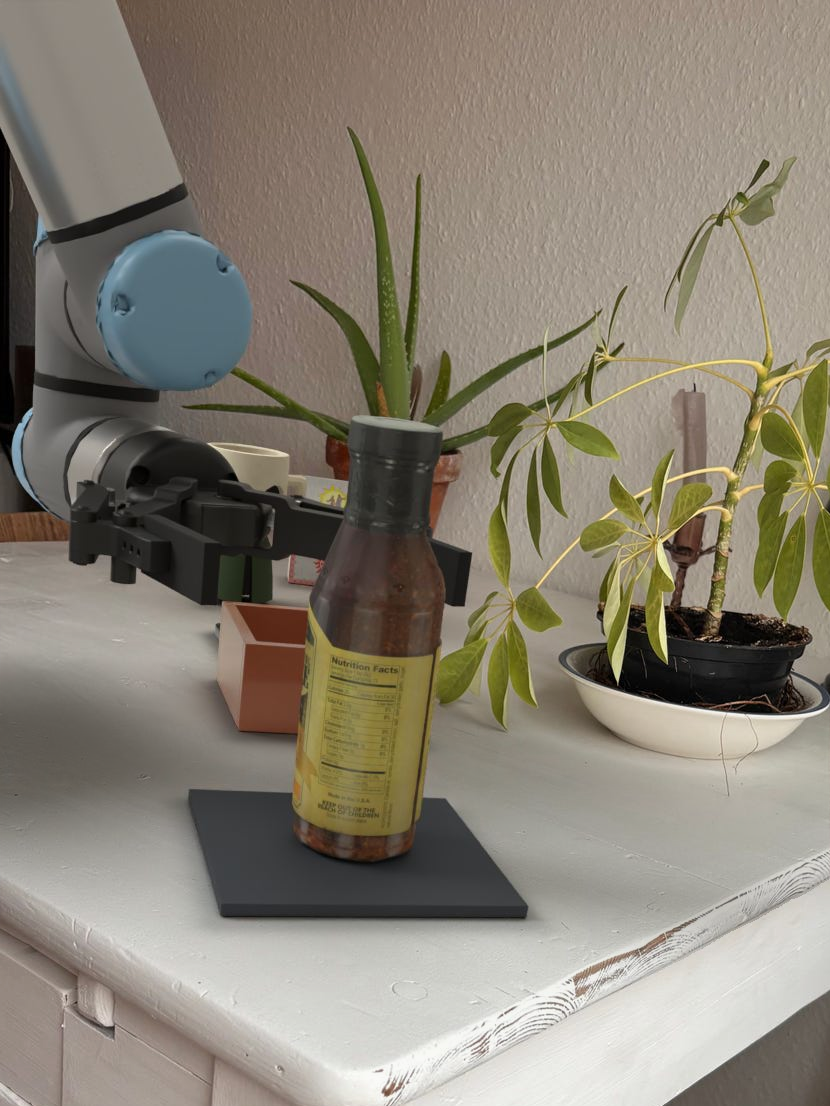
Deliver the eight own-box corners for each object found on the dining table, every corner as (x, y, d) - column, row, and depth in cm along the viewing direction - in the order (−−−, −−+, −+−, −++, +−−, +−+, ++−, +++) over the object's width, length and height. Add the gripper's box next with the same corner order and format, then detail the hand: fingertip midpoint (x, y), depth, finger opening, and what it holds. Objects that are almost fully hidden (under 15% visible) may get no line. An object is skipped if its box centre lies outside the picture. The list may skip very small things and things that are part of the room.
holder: (238, 731, 79) (245, 643, 77) (216, 679, 89) (221, 600, 87) (419, 740, 83) (430, 657, 81) (378, 689, 93) (387, 614, 91)
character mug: (184, 607, 108) (194, 447, 103) (165, 588, 114) (174, 436, 109) (307, 614, 113) (323, 461, 108) (283, 595, 119) (297, 450, 114)
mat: (220, 916, 55) (221, 903, 54) (187, 799, 67) (188, 788, 67) (526, 917, 59) (528, 905, 59) (444, 808, 72) (445, 797, 71)
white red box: (287, 575, 128) (296, 472, 124) (354, 583, 130) (366, 481, 126) (288, 582, 125) (298, 476, 121) (357, 590, 126) (369, 486, 123)
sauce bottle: (332, 810, 67) (377, 410, 60) (437, 843, 65) (498, 433, 57) (259, 843, 61) (299, 407, 54) (371, 881, 59) (429, 432, 52)
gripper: (334, 565, 84) (537, 651, 69) (-67, 554, 69) (79, 661, 54) (347, 446, 81) (561, 508, 66) (-68, 407, 66) (86, 477, 51)
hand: (345, 577), depth 60 cm, fingers open, 13 cm apart
